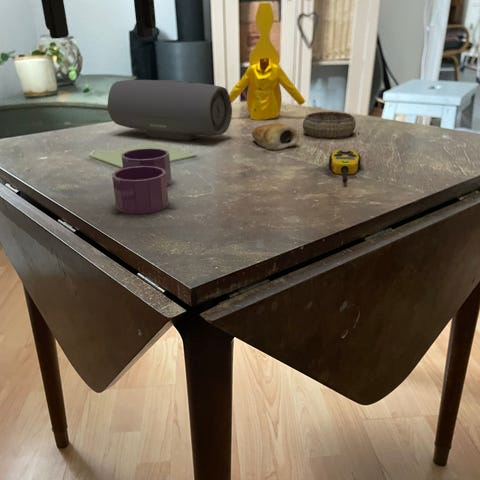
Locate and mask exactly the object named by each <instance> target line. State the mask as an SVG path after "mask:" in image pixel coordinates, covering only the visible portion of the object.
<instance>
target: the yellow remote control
mask: <svg viewBox="0 0 480 480" xmlns="http://www.w3.org/2000/svg"><path fill="white" fill-rule="evenodd" d="M361 162H362V158H361V155H360V153H358V152H356V150H353V149H337V150H334V151H333V152H331V153H330V154H329V157H328V168H329V170H331V171H332V172H333V173H335V174H336V175H342V183H347V181H348V175H354V174H356V173H357V171H359V170H360V168H361Z"/></svg>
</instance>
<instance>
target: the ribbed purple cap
mask: <svg viewBox="0 0 480 480" xmlns="http://www.w3.org/2000/svg"><path fill="white" fill-rule="evenodd" d="M121 156H122V164H123V169H124V168H128V167H136V166H152V167H159V168H162V169H164V170H165V172H166V178H167V187H168V186H170V185H171V184H172V171H171V169H172V168H171V162H170V157H169V152H168V151H166V150H163V149H155V148H145V149H135V150H130V151H127V152H125V153H123V154H121Z"/></svg>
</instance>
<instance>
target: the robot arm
mask: <svg viewBox="0 0 480 480" xmlns="http://www.w3.org/2000/svg"><path fill="white" fill-rule="evenodd" d="M40 2H41V8H42V12H43V18H44V23H45V28H46V29H47V30H48V31H49V37H50V39H52V40H53V39H63V38H67V37H69V34H70V33H69V26H68V20H67V14H66V8H65V3H64V2H65V1H64V0H41V1H40ZM133 7H134V15H135V25H136V34H137V37H138V38H149V37H153V33H154V32H153V29H155V28H156V25H157V20H156V8H155V0H133Z"/></svg>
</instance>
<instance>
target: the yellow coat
mask: <svg viewBox="0 0 480 480" xmlns="http://www.w3.org/2000/svg"><path fill="white" fill-rule="evenodd" d="M274 19H275V17H274V12H273V8H272V5H271V2H259V4H258V7H257V10H256V14H255V25H256V27H257V28H256V29H257V30H258V33H259V40H258V41H257V43H256V44H255V46H254V47H253V49H252V50H251V52H250V54H249V58H248V59H249V60H248V61H249V66H248V67H247V69H246V71H245V72H244V74H243V75H242V77H241V78H240V79H239V80H238V82H236V84H235V85H234V87H232V89H231V91H230V93H228V94H229V96H230V100H231V104H232V103H233V102H234V101H236V99H237V98H238V97H239V96H240V95H241V94H242V93H243V91H244V90H245V89H246V88H247V87H248V88H247V94H246V106H247V112H248V114H249V116H250V117H249V119H251V120H253V121H265V120H268V119H274V118H278V117H279V113H280V111H281V107H282V103H283V101H282V99H283V98H282V97H283V96H282V90H281V87H282V88H283V89H284V91H286V92H287V94H289V95H290V97H291V98H292V99H293V100H294V101H295V102H296V103H297V104H298V105H299V106H301V105H303V104H305V102H306V100H305V98H304V97H303V96H302V94H301V92H299V90H298V88H297V87H296V86H295V85H294V83H293V82H292V81H291V80H290V78H289V76H288V75H287V74H286V72H285V71H284V70H283V69H282V66H280V58H281V57H280V54H279V52H278V50H277V48H276V46H274V44H273V43H272V40H271V38H270V33H271V31H272V28H273V25H274V22H275V21H274Z"/></svg>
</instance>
